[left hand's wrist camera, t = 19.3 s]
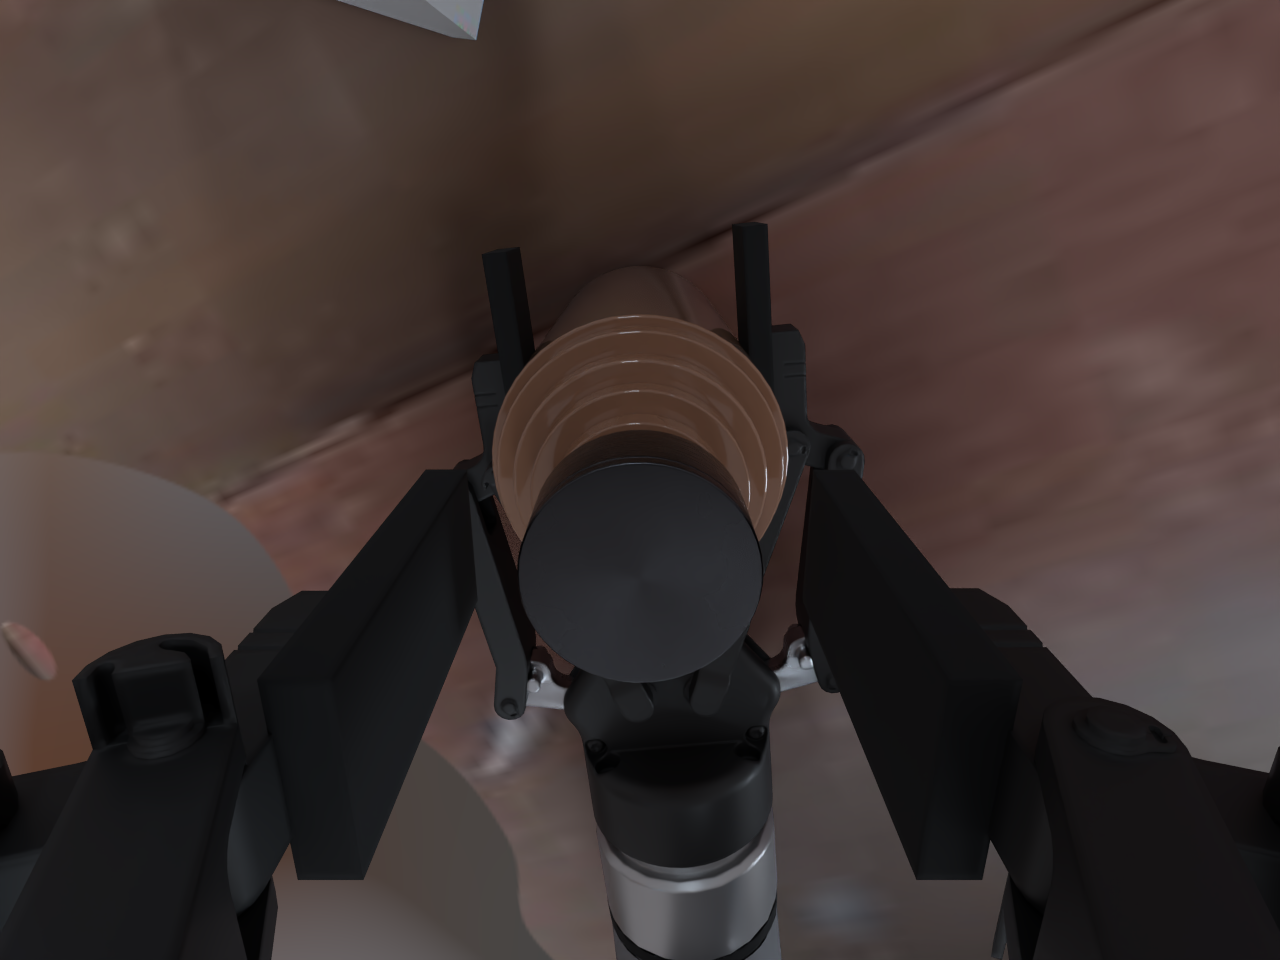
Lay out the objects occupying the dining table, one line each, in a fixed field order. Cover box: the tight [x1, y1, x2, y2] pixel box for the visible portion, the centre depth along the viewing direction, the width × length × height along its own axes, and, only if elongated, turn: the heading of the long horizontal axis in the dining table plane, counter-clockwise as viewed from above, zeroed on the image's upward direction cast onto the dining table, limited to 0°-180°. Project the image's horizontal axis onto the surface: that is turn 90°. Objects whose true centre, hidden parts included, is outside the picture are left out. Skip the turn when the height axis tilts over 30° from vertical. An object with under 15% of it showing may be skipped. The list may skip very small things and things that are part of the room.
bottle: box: [492, 266, 788, 542], centre depth 22 cm, size 7×7×20 cm
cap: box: [517, 430, 763, 683], centre depth 14 cm, size 4×4×2 cm
